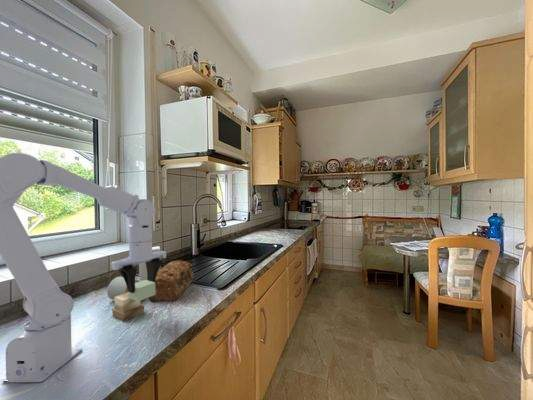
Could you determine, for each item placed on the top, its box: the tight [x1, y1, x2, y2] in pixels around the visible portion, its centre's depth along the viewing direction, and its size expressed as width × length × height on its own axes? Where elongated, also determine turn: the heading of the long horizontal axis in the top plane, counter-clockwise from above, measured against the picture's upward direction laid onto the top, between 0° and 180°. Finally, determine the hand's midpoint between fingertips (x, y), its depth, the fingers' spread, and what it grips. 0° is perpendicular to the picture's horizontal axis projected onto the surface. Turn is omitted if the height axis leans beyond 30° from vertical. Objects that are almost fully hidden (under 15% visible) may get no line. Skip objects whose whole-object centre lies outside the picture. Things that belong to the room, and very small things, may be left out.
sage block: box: [128, 280, 156, 302], centre depth 64 cm, size 5×5×4 cm
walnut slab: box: [112, 303, 145, 322], centre depth 68 cm, size 6×6×2 cm
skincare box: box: [138, 245, 162, 281], centre depth 94 cm, size 8×6×15 cm
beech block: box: [113, 293, 141, 313], centre depth 69 cm, size 5×5×4 cm
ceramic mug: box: [106, 276, 140, 301], centre depth 81 cm, size 11×8×8 cm
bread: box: [147, 259, 194, 302], centre depth 86 cm, size 19×11×10 cm, turn 179°
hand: (141, 288), depth 64 cm, fingers closed on sage block, 5 cm apart
